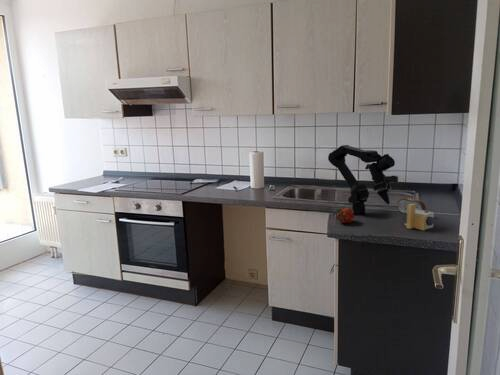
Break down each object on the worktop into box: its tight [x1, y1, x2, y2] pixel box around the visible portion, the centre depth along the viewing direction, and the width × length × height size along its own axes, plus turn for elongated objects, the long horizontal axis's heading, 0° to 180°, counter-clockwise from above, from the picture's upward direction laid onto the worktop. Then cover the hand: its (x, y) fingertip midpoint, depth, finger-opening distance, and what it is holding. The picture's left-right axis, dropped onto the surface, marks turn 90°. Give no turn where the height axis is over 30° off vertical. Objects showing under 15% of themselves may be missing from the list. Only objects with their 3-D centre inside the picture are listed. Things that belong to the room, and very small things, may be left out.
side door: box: [406, 204, 426, 231], centre depth 176 cm, size 7×4×11 cm, turn 30°
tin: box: [396, 197, 427, 215], centre depth 200 cm, size 15×3×8 cm, turn 35°
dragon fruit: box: [335, 206, 356, 224], centre depth 191 cm, size 8×8×12 cm
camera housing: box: [404, 209, 435, 230], centre depth 180 cm, size 11×7×8 cm, turn 30°
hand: (388, 204), depth 188 cm, fingers closed
